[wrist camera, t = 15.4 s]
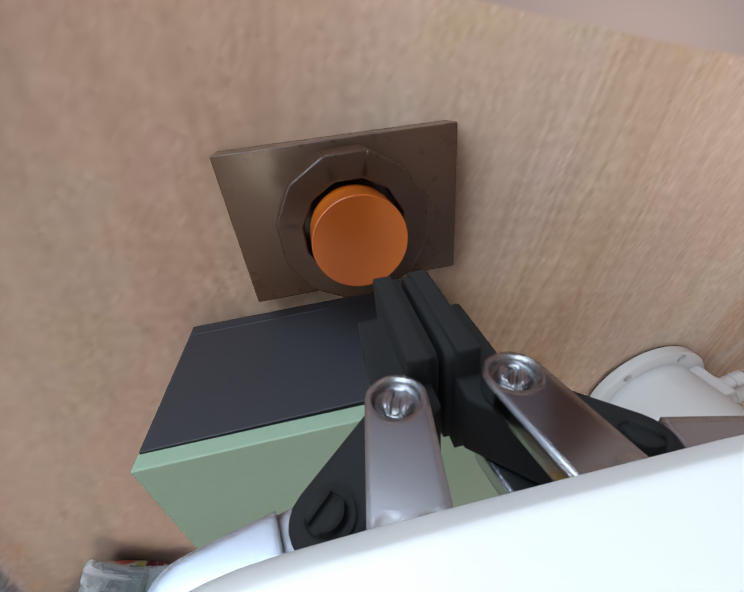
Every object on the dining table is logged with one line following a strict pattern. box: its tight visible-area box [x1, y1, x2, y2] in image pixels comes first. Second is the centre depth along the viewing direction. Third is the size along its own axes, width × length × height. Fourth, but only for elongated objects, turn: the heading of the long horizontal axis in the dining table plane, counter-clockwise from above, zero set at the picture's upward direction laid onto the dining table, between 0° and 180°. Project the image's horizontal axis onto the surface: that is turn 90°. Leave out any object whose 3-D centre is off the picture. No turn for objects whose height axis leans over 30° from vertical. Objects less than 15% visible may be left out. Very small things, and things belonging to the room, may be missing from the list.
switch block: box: [210, 120, 457, 302], centre depth 18 cm, size 12×8×4 cm, turn 96°
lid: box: [131, 405, 499, 549], centre depth 18 cm, size 17×14×1 cm
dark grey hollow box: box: [139, 293, 377, 454], centre depth 22 cm, size 16×14×9 cm
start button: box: [310, 184, 408, 286], centre depth 16 cm, size 4×4×2 cm
